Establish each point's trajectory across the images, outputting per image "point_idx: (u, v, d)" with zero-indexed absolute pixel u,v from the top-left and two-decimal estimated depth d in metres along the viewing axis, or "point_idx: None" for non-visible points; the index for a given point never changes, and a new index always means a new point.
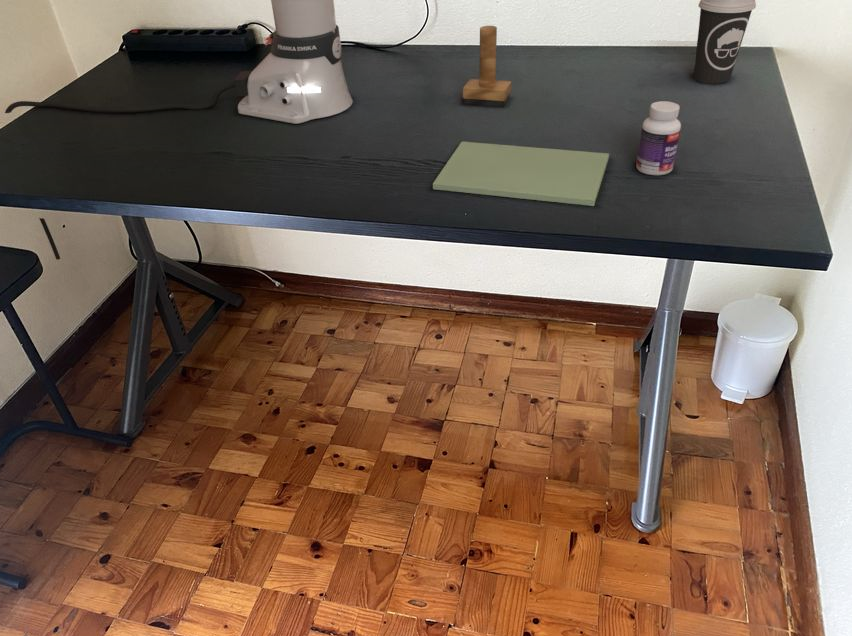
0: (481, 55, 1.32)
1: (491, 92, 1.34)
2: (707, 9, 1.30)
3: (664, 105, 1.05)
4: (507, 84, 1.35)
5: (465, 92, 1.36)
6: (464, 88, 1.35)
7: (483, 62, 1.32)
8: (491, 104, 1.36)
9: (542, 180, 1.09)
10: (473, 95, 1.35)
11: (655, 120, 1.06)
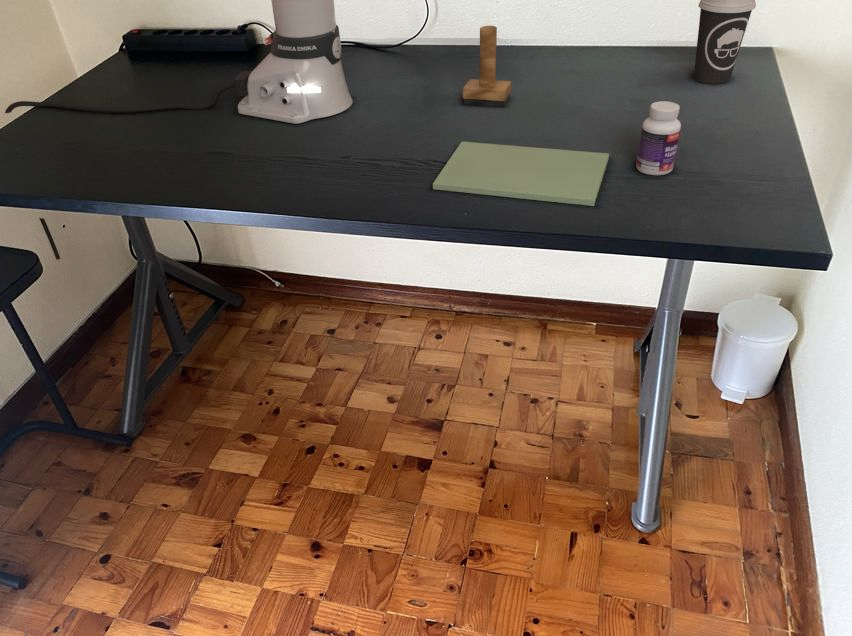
0: (481, 55, 1.32)
1: (491, 92, 1.34)
2: (707, 9, 1.30)
3: (664, 105, 1.05)
4: (507, 84, 1.35)
5: (465, 92, 1.36)
6: (464, 88, 1.35)
7: (483, 62, 1.32)
8: (491, 104, 1.36)
9: (542, 180, 1.09)
10: (473, 95, 1.35)
11: (655, 120, 1.06)
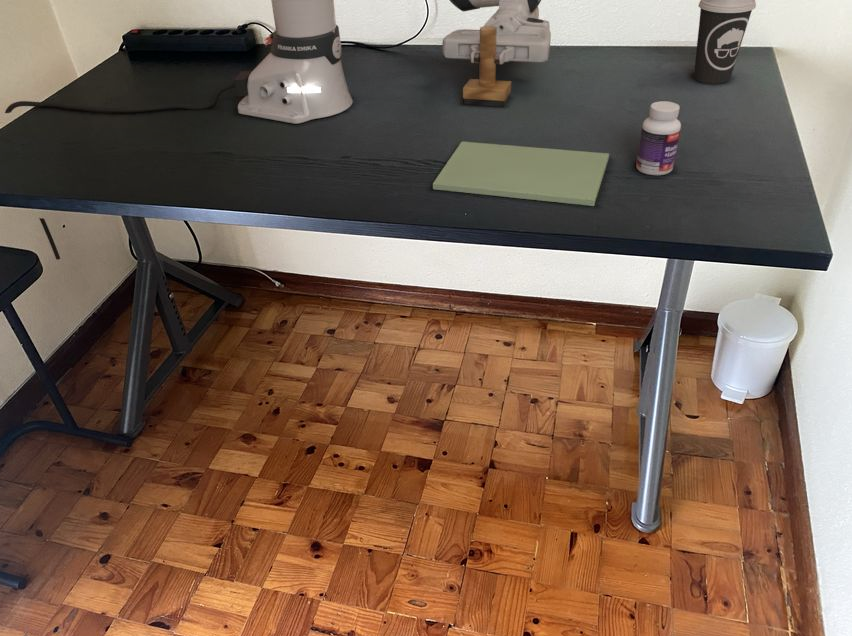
0: (481, 55, 1.32)
1: (491, 92, 1.34)
2: (707, 9, 1.30)
3: (664, 105, 1.05)
4: (507, 84, 1.35)
5: (465, 92, 1.36)
6: (464, 88, 1.35)
7: (483, 62, 1.32)
8: (491, 104, 1.36)
9: (542, 180, 1.09)
10: (473, 95, 1.35)
11: (655, 120, 1.06)
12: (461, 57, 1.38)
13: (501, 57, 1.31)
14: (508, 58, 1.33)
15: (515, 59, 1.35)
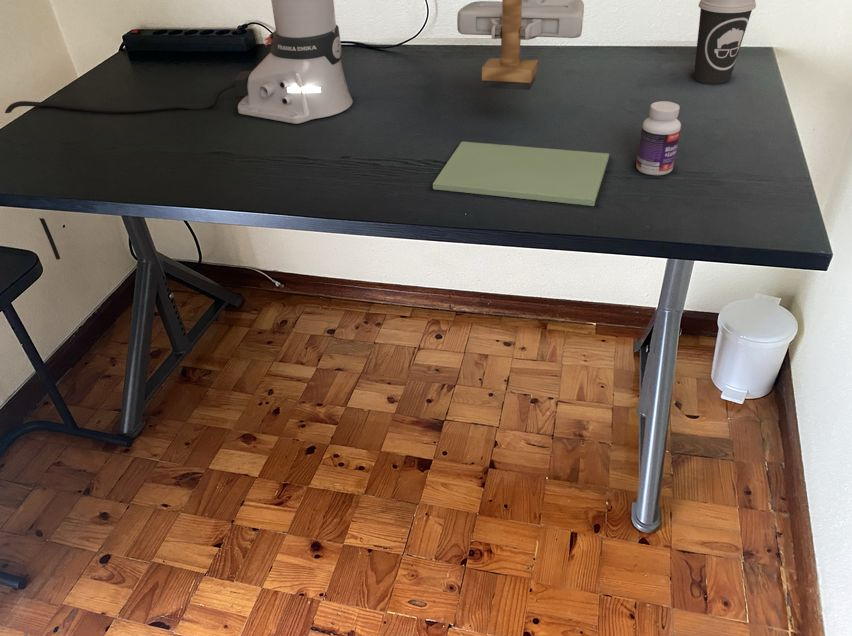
0: (504, 29, 1.13)
1: (515, 73, 1.15)
2: (707, 9, 1.30)
3: (664, 105, 1.05)
4: (533, 63, 1.16)
5: (484, 73, 1.17)
6: (483, 68, 1.16)
7: (505, 37, 1.13)
8: (515, 87, 1.17)
9: (542, 180, 1.09)
10: (494, 76, 1.17)
11: (655, 120, 1.06)
12: (479, 33, 1.19)
13: (527, 31, 1.12)
14: (535, 33, 1.14)
15: (542, 34, 1.16)
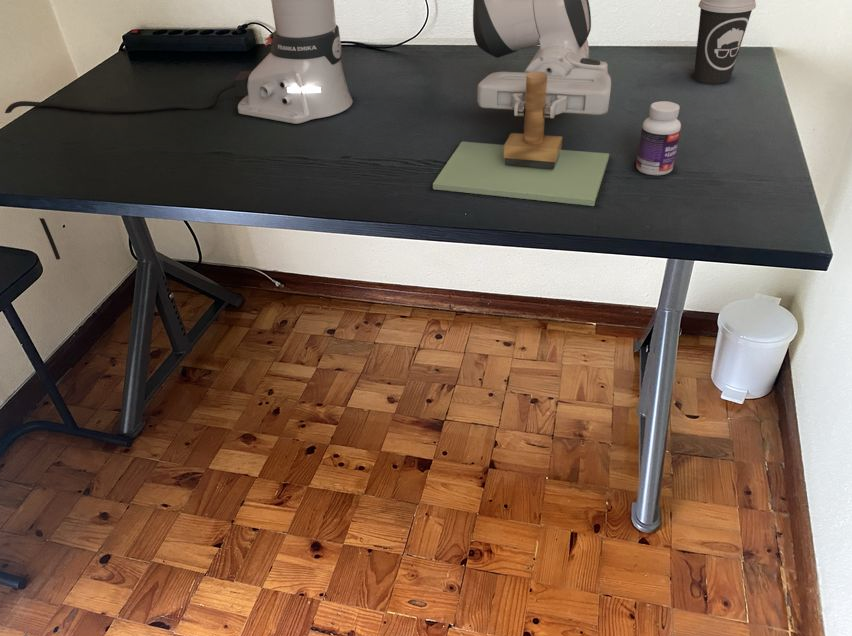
0: (527, 107, 1.07)
1: (539, 152, 1.09)
2: (707, 9, 1.30)
3: (664, 105, 1.05)
4: (558, 141, 1.11)
5: (506, 151, 1.11)
6: (505, 146, 1.11)
7: (529, 116, 1.08)
8: (538, 165, 1.11)
9: (542, 180, 1.09)
10: (516, 154, 1.11)
11: (655, 120, 1.06)
12: (500, 107, 1.14)
13: (552, 110, 1.07)
14: (560, 110, 1.09)
15: (567, 110, 1.10)
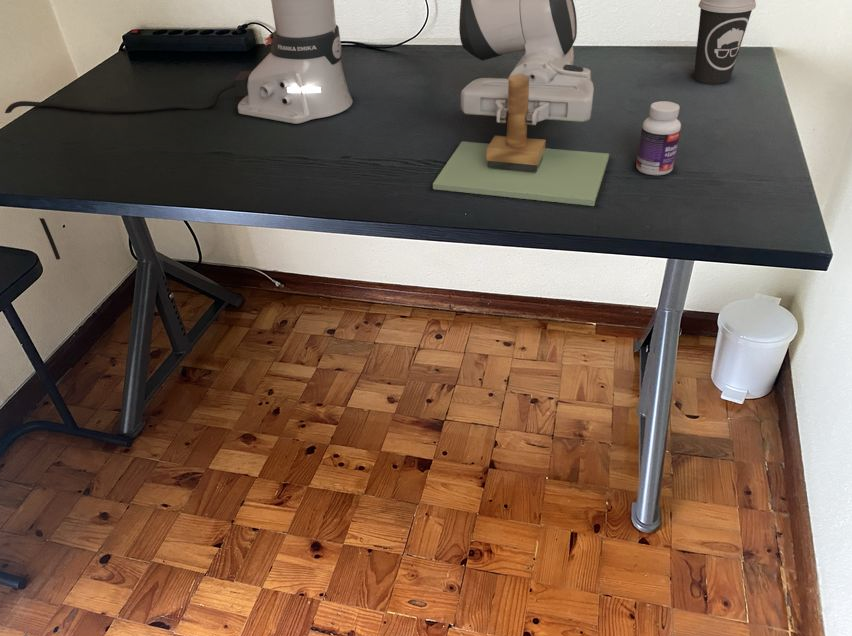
0: (509, 110, 1.07)
1: (521, 155, 1.09)
2: (707, 9, 1.30)
3: (664, 105, 1.05)
4: (541, 144, 1.10)
5: (489, 153, 1.11)
6: (488, 149, 1.11)
7: (511, 118, 1.08)
8: (521, 168, 1.11)
9: (542, 180, 1.09)
10: (499, 157, 1.11)
11: (655, 120, 1.06)
12: (483, 113, 1.14)
13: (534, 117, 1.07)
14: (542, 117, 1.09)
15: (550, 117, 1.11)
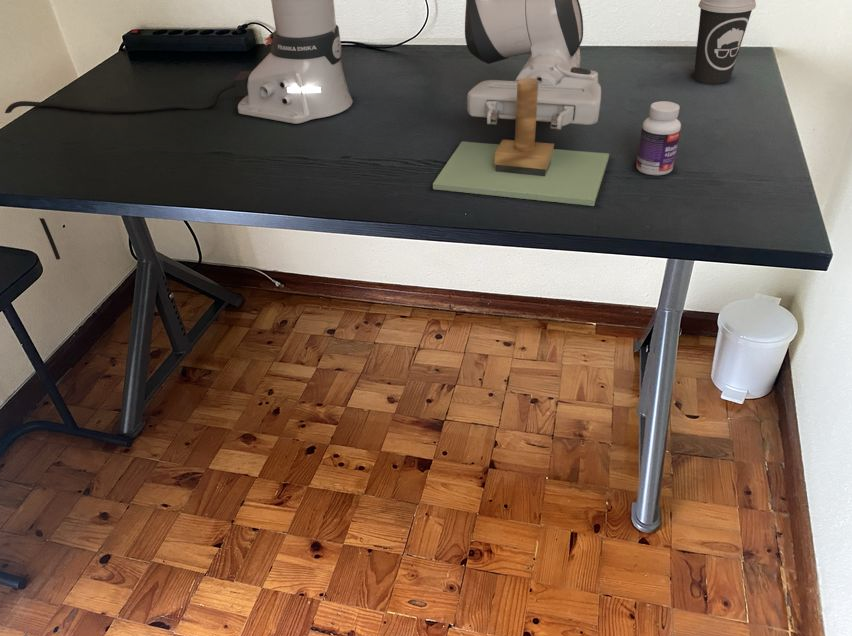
0: (518, 114, 1.06)
1: (530, 159, 1.09)
2: (706, 9, 1.30)
3: (664, 105, 1.05)
4: (549, 148, 1.10)
5: (497, 157, 1.10)
6: (496, 152, 1.10)
7: (520, 122, 1.07)
8: (529, 172, 1.10)
9: (542, 180, 1.09)
10: (507, 161, 1.10)
11: (655, 120, 1.06)
12: None
13: (559, 121, 1.05)
14: (567, 121, 1.07)
15: None
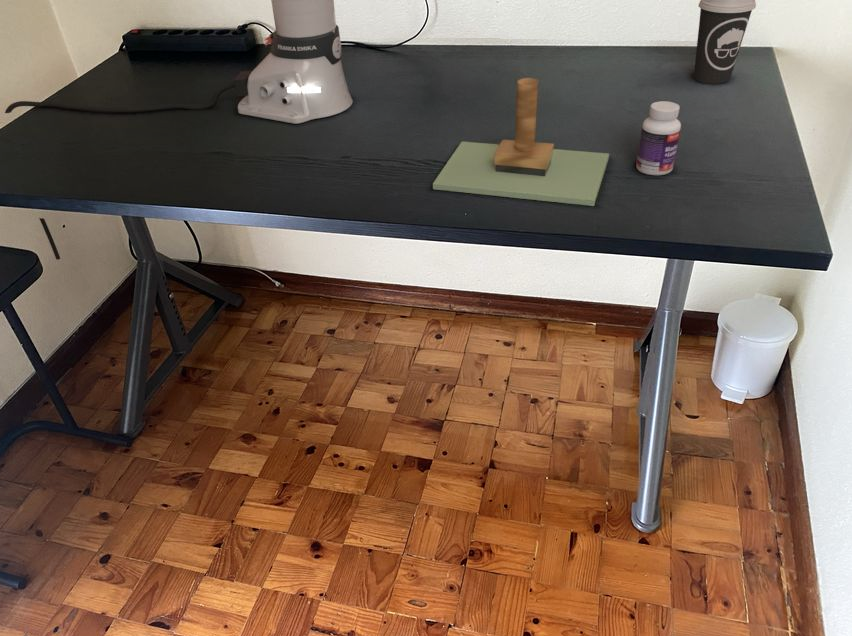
0: (518, 114, 1.06)
1: (530, 159, 1.09)
2: (707, 9, 1.30)
3: (664, 105, 1.05)
4: (549, 148, 1.10)
5: (497, 157, 1.10)
6: (496, 152, 1.10)
7: (520, 122, 1.07)
8: (529, 172, 1.10)
9: (542, 180, 1.09)
10: (507, 161, 1.10)
11: (655, 120, 1.06)
12: None
13: None
14: None
15: None
